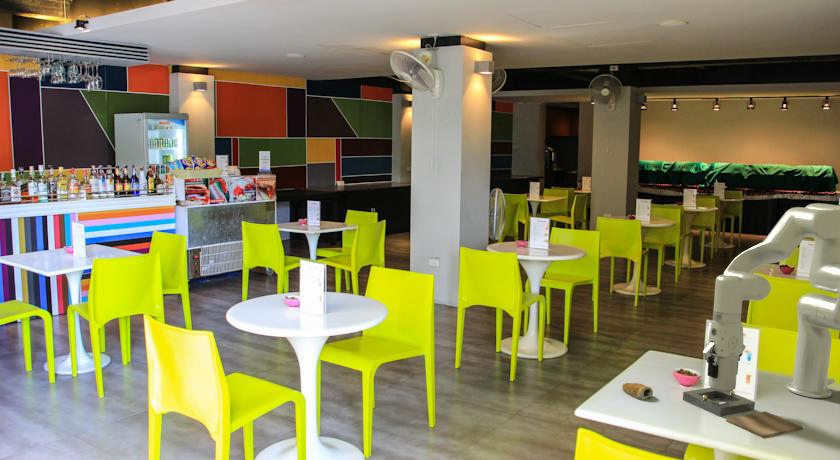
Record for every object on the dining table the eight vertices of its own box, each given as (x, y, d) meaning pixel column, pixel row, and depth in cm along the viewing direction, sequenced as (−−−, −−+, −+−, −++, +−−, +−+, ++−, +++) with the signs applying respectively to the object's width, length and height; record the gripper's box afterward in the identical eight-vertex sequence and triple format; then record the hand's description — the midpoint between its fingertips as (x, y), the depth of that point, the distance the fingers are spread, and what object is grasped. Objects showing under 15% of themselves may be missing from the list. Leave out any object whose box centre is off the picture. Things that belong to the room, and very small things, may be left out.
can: (710, 392, 212) (713, 352, 210) (705, 383, 219) (708, 345, 217) (737, 394, 210) (741, 354, 208) (732, 385, 217) (735, 347, 216)
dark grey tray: (715, 394, 224) (716, 383, 224) (754, 410, 212) (755, 398, 211) (682, 399, 218) (683, 388, 218) (720, 416, 206) (721, 404, 205)
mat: (765, 413, 209) (765, 411, 209) (802, 429, 199) (803, 427, 199) (726, 421, 202) (726, 419, 202) (762, 437, 192) (763, 435, 192)
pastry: (616, 391, 224) (617, 379, 224) (631, 388, 228) (632, 376, 227) (640, 401, 216) (641, 388, 216) (655, 397, 220) (656, 385, 219)
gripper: (715, 323, 204) (711, 383, 207) (758, 317, 212) (753, 375, 214) (695, 317, 211) (691, 375, 213) (737, 311, 219) (732, 367, 221)
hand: (722, 374), depth 214 cm, fingers closed on can, 7 cm apart
